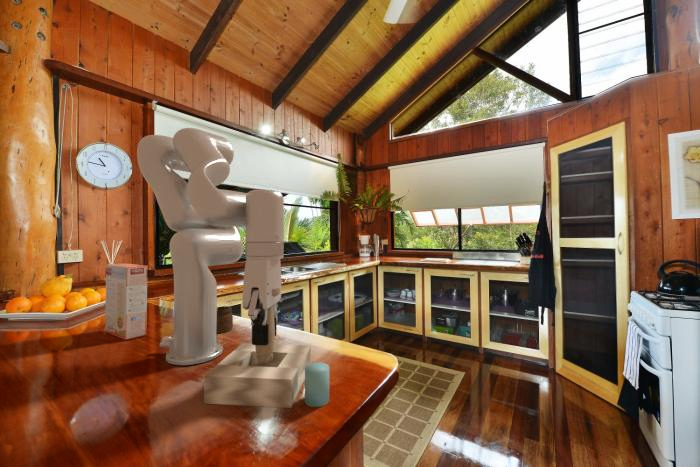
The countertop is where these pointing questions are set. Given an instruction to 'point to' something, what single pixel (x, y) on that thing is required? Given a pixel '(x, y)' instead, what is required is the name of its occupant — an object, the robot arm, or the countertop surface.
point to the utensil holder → (224, 319)
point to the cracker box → (126, 300)
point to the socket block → (258, 377)
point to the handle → (266, 351)
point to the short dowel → (317, 384)
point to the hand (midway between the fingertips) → (264, 339)
